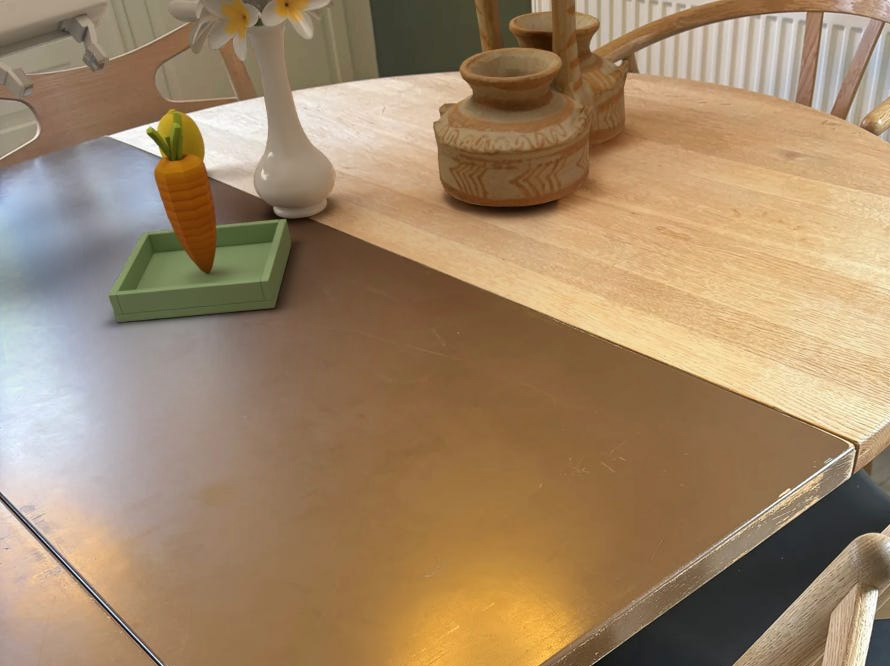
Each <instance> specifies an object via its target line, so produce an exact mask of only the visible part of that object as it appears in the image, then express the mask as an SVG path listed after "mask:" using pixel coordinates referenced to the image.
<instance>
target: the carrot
mask: <svg viewBox="0 0 890 666" xmlns="http://www.w3.org/2000/svg"><path fill="white" fill-rule="evenodd" d="M178 112H179V111H178ZM178 112H173V124H172V128H171V135H170V137H169V136H168V135H165V137H164V138H165V140H166V142H167V145H168V146H167V145H166V143H165V141H164V140H163V138H162V137H161V136H160V134H159V133H158V132H157V129H155V128H154V127H152V126H149V127H147V128H146V129H145V130H146V131H145V133H146V135H147V136H148V137H149V138H150V139H151V140H152V141H153V142H154V143H155V144H156V145H157V146H158V148H159V147H160V149H161V150H162V151H163V152H164V154H165V155H166V156H167V157H164V158H160V160H159V161H158V163H157V164H156V166H155V168H154V170H153V174H154V175H153V176H154V180H155V183H156V186H157V189H158V193H159V195H160V199H161V202H162V205H163V208H164V210H165V213H166V216H167V218H168V221H169V223H170V225H171V227H172V230H174V232H175V234H176V236H177V238H178V240H179V241H180V243H181V245H182V247H183V249H184V250H185V251H186V253H187V254H188V256H189V257H190V258H191V260H192V261H193V262H194V263H195V264H196V265H197V266H198V268H199V269H200V270H201V271H203V272H205V273H206V274H209V273H210V271H211V270H212V267H213V263H214V258H215V253H216V242H217V234H216V225H217V222H216V220H217V219H216V209H215V204H214V198H213V194H212V193H213V192H212V189H211V184H210V179H209V175H208V171H207V167H206V164H205V162H204V160H202V159H201V158H199V157H198V156H195V155H191V154H188V153H182V143H183V137H184V134H183V133H182V116H181V114H180V113H178ZM168 147H169V148H168ZM169 149H170V150H169Z"/></svg>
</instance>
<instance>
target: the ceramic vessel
mask: <svg viewBox="0 0 890 666" xmlns="http://www.w3.org/2000/svg"><path fill="white" fill-rule="evenodd" d="M550 2H551V10H549V11H548V10H547V11H546V10H545V11H536V12H535V11H534V12H530V13H529V12H528V13H525V14H521V15H518V16H516V17H514V18H512V19H511V20H509V24H508V30H509V31H510V32H511V33H512V35H513V36H514V37H515V39H516V41H517V43H518V47H505V42H504V36H503V31H502V23H501V18H500V17H501V16H500V9H499V1H498V0H474V4H475V10H476V11H475V12H476V17H477V24H478V30H479V38H480V43H481V44H480V45H481V52H478V53H475V54H473V55H471V56H470V57H467V58H466V59H465V60H463V62H462V63H461V65H460V66H459V69H458V70H459V74H460V76H461V79H462V80H463V81H465V83H467V85H468V86H469V87H470V89H471V90H472V94H471V95H468V96H467V97H465V98H463V99H461V100H459V101H457V102H456V103H453V102H449V103H443V104H442V105H441V106H439V108H438V112H439V116H440V118H439V119H437V120H435V121H433V123H432V129H433V133H434V138H435V143H436V146H437V165H438V174H439V181H440V183H441V186H442V188H443V189H444V191H445V192H446V193H447V194H449V195H450V196H451V197H452V198H454V199H455V200H458V201H461V202H464V203H467V204H470V205H476V206H485V207H497V208H498V207H528V206H536V205H541V204H546V203H549V202H553V201H557V200H560V199H563V198H566V197H567V196H568V195H570V194H572V193H574V192H576V191H577V190H578V189H580V188H581V187H582V186H583V185H585V183H586V182H587V179H588V177H589V174H590V148H591V147H594V146H597V145H598V146H599V145H600V144H603V143H605V142H608V141H610V140H611V139H613V138H615V137H617V136H618V135H619V134H620V133H621V132H622V131H623V129H624V127H625V125H626V124H625V123H626V105H625V86H626V81H627V77H628V74H629V70H630V62H629V60H623V61H622V62H621V63H620V64H619V65H617V64H616V63H615V62H614V61H611V60H610V59H607V58H605V57H603V56H601V55H600V54H599V55H598V54H596V53H595V52H592V50H591V46H590V45H591V43H592V42H591V41H592V39H593V37H594V35H595V34H596V33H598V31H599V29H600V27H601V21H600V18H597V17H595V16H593V15H591V14H587V13H585V12H584V13H583V12H579V11H576V0H551V1H550Z"/></svg>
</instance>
